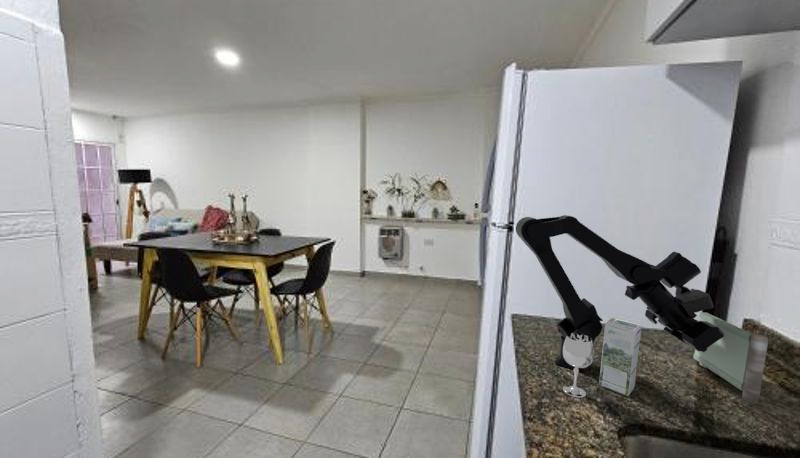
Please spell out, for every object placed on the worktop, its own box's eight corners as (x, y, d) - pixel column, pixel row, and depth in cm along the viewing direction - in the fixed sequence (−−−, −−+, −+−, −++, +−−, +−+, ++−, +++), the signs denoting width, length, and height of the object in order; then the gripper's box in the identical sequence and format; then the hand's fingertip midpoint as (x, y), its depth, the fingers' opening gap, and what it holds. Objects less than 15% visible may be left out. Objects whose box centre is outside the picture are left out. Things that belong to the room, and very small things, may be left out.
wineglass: (589, 402, 70) (595, 346, 69) (558, 393, 73) (563, 339, 72) (589, 388, 75) (595, 335, 74) (560, 381, 78) (565, 329, 77)
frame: (771, 405, 71) (782, 340, 70) (748, 403, 72) (758, 338, 70) (708, 364, 88) (715, 310, 86) (689, 362, 89) (696, 309, 87)
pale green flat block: (748, 390, 74) (757, 336, 72) (740, 389, 74) (748, 335, 73) (700, 358, 88) (706, 312, 86) (693, 358, 88) (699, 312, 86)
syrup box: (635, 387, 76) (642, 323, 75) (628, 398, 72) (635, 331, 71) (606, 377, 80) (612, 316, 79) (597, 386, 76) (604, 322, 75)
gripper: (720, 290, 72) (771, 346, 72) (663, 269, 90) (704, 314, 90) (674, 323, 73) (723, 378, 73) (627, 296, 92) (667, 340, 92)
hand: (703, 349), depth 82 cm, fingers closed
